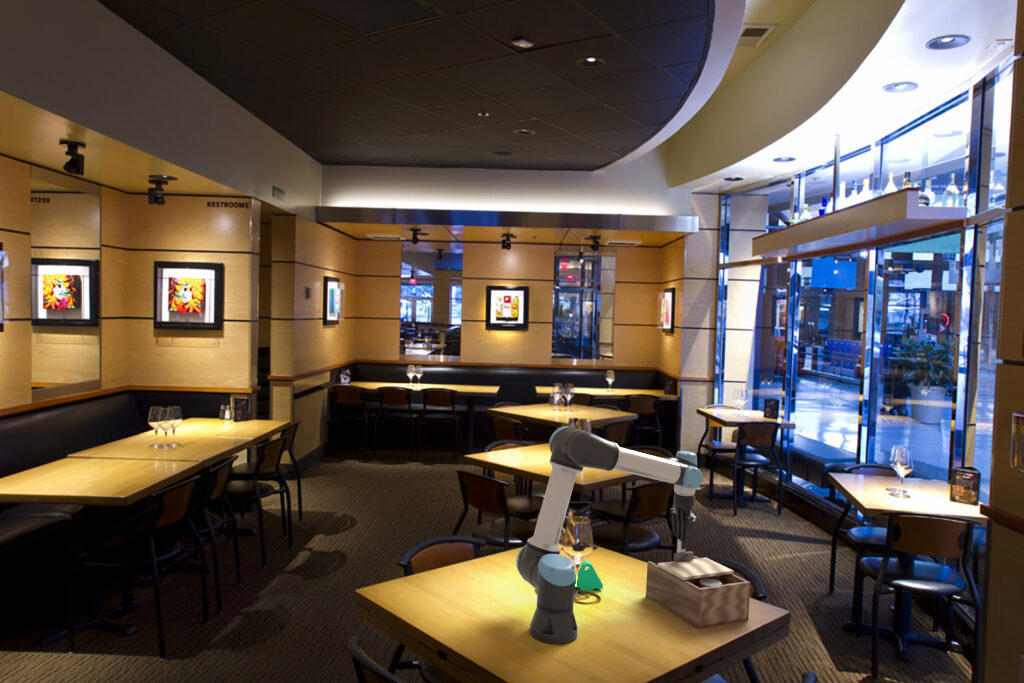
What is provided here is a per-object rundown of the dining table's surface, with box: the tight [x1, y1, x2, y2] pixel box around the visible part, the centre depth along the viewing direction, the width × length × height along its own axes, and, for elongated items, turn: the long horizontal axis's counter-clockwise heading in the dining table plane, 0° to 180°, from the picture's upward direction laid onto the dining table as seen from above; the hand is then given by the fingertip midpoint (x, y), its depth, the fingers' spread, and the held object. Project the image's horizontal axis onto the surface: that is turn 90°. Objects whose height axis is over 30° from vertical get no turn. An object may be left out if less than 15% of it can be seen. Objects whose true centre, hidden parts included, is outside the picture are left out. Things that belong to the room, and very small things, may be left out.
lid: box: [657, 550, 734, 580], centre depth 237 cm, size 22×14×4 cm, turn 115°
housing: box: [645, 555, 751, 630], centre depth 236 cm, size 22×28×13 cm
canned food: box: [699, 578, 722, 588], centre depth 230 cm, size 8×8×11 cm
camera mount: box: [574, 560, 604, 592], centre depth 251 cm, size 12×8×10 cm, turn 93°
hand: (680, 556), depth 244 cm, fingers closed
